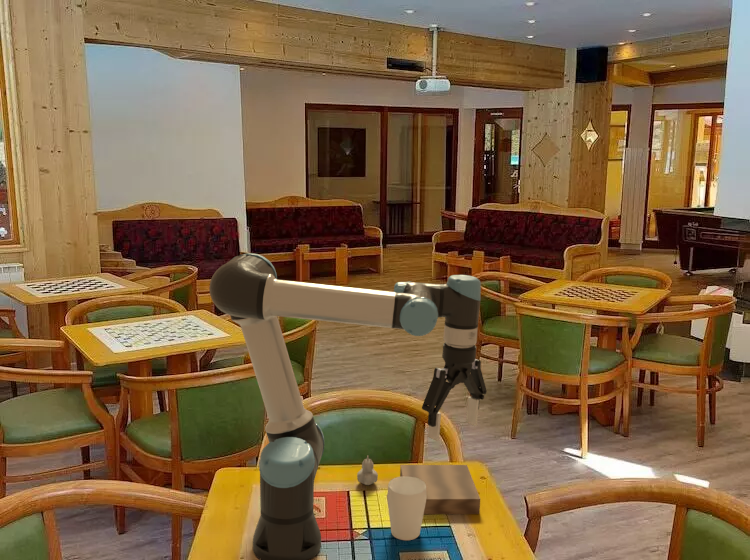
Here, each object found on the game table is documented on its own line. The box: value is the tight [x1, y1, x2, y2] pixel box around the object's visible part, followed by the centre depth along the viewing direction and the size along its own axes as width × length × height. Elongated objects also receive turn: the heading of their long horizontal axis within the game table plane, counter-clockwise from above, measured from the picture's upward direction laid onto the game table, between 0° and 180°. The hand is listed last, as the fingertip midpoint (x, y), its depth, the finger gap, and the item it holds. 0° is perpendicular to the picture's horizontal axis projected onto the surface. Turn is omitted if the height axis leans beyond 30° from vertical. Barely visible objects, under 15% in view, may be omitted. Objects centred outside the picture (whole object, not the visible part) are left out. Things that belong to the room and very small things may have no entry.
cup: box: [386, 476, 426, 541], centre depth 157 cm, size 9×9×12 cm
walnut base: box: [399, 464, 481, 515], centre depth 175 cm, size 18×18×4 cm
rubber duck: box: [356, 455, 379, 486], centre depth 179 cm, size 5×7×8 cm
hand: (452, 431), depth 158 cm, fingers open, 13 cm apart
